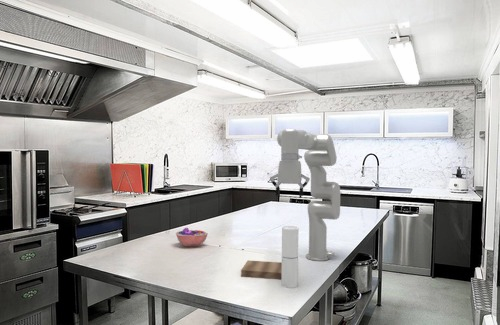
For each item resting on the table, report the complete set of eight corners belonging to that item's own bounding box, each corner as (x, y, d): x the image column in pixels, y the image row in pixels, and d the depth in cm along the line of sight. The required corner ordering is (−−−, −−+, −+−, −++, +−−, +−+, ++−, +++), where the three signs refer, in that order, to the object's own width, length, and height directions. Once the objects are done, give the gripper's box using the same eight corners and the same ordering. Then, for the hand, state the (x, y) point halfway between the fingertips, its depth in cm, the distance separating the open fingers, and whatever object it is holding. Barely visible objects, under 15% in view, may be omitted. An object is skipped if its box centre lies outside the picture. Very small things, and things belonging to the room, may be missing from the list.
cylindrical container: (289, 288, 150) (289, 230, 150) (278, 284, 156) (278, 227, 156) (301, 285, 154) (301, 228, 154) (290, 280, 160) (290, 225, 160)
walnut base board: (290, 269, 177) (291, 263, 177) (288, 279, 161) (288, 273, 161) (247, 266, 181) (247, 260, 181) (241, 276, 165) (241, 270, 165)
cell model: (202, 250, 211) (202, 231, 211) (170, 248, 215) (171, 229, 215) (211, 243, 228) (211, 226, 227) (181, 242, 232) (181, 224, 231)
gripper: (310, 157, 157) (309, 196, 157) (271, 157, 160) (270, 195, 161) (309, 157, 150) (309, 198, 150) (268, 157, 153) (268, 197, 153)
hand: (289, 196), depth 155 cm, fingers open, 9 cm apart
